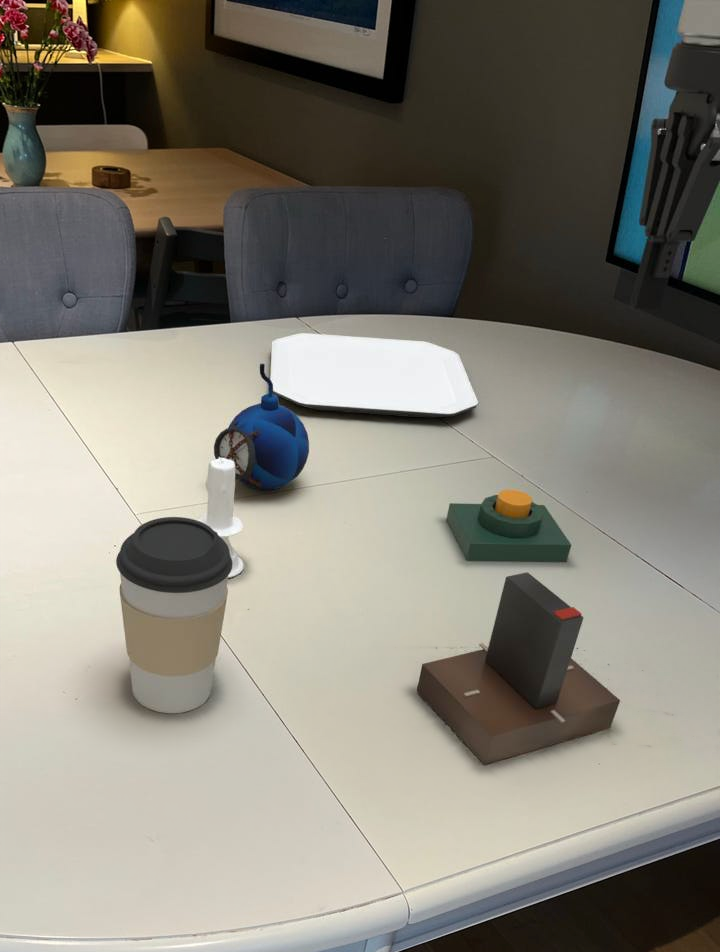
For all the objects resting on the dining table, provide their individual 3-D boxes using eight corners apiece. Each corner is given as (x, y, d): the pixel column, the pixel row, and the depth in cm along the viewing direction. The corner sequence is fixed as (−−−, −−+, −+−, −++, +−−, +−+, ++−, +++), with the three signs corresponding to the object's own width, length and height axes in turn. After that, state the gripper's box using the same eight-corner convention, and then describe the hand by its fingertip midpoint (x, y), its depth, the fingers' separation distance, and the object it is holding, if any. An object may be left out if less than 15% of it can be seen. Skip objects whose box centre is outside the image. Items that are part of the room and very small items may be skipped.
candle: (187, 576, 99) (190, 466, 92) (196, 549, 103) (200, 443, 96) (239, 582, 98) (247, 472, 92) (246, 555, 103) (254, 449, 96)
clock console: (532, 657, 91) (540, 629, 89) (615, 732, 83) (626, 703, 81) (412, 687, 86) (418, 658, 84) (488, 769, 78) (496, 739, 76)
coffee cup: (106, 712, 81) (101, 554, 72) (133, 649, 88) (132, 499, 80) (214, 728, 80) (223, 571, 71) (232, 663, 87) (242, 513, 79)
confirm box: (539, 521, 113) (548, 490, 111) (566, 562, 106) (576, 529, 103) (445, 520, 112) (452, 488, 110) (466, 561, 105) (473, 528, 102)
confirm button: (522, 504, 108) (526, 489, 107) (533, 520, 105) (536, 505, 104) (490, 503, 108) (494, 489, 107) (500, 519, 105) (503, 504, 104)
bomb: (197, 484, 115) (202, 359, 107) (262, 459, 122) (271, 339, 113) (258, 516, 110) (267, 386, 101) (321, 488, 117) (336, 364, 108)
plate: (271, 343, 157) (272, 330, 156) (452, 356, 157) (454, 342, 156) (268, 415, 134) (269, 399, 132) (481, 430, 134) (484, 414, 132)
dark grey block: (484, 660, 85) (506, 573, 80) (505, 655, 86) (528, 569, 81) (535, 709, 80) (562, 620, 75) (557, 703, 81) (585, 614, 75)
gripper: (797, 50, 84) (708, 327, 98) (722, 38, 95) (651, 289, 108) (714, 46, 83) (636, 325, 97) (648, 34, 94) (586, 287, 108)
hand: (644, 306), depth 103 cm, fingers closed
